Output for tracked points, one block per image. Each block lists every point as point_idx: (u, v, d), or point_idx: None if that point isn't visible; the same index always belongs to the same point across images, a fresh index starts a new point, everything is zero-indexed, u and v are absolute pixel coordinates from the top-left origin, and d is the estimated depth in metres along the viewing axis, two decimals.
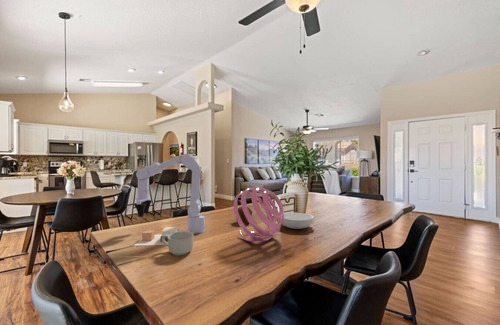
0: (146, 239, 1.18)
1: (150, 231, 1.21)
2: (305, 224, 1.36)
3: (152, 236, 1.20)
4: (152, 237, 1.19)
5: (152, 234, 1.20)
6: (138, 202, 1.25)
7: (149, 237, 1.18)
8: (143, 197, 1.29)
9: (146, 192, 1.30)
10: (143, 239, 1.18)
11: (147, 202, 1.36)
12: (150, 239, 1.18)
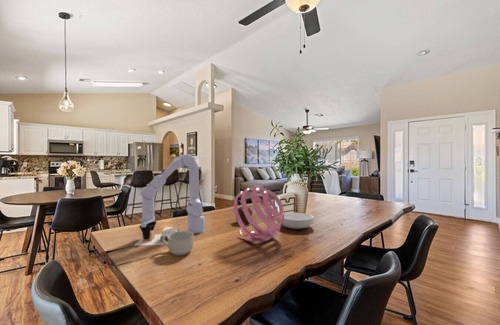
0: (146, 239, 1.18)
1: (150, 231, 1.21)
2: (305, 224, 1.36)
3: (152, 236, 1.20)
4: (152, 237, 1.19)
5: (152, 234, 1.20)
6: (143, 225, 1.13)
7: (149, 237, 1.18)
8: (148, 218, 1.18)
9: (151, 213, 1.19)
10: (143, 239, 1.18)
11: (151, 223, 1.23)
12: (150, 239, 1.18)
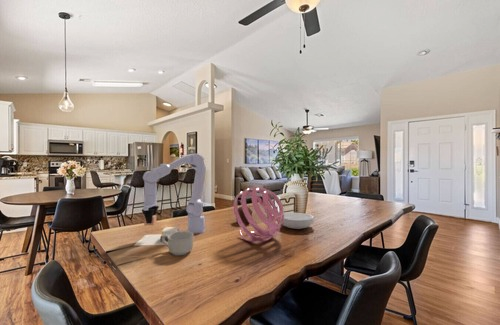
0: (148, 223, 1.18)
1: (152, 216, 1.21)
2: (305, 224, 1.36)
3: (154, 220, 1.20)
4: (154, 222, 1.19)
5: (154, 218, 1.20)
6: (145, 208, 1.13)
7: None
8: (150, 202, 1.18)
9: (154, 197, 1.19)
10: (145, 223, 1.18)
11: (154, 208, 1.23)
12: (152, 224, 1.18)
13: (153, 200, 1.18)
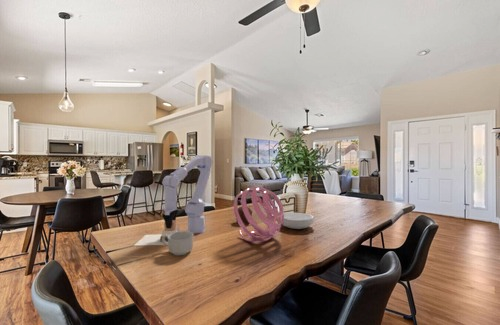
0: (168, 228, 1.19)
1: (172, 221, 1.21)
2: (305, 224, 1.36)
3: (174, 226, 1.21)
4: (174, 227, 1.20)
5: (174, 224, 1.21)
6: (167, 213, 1.14)
7: None
8: (171, 207, 1.18)
9: (174, 201, 1.20)
10: (165, 228, 1.19)
11: (174, 212, 1.25)
12: (172, 229, 1.19)
13: (173, 204, 1.19)
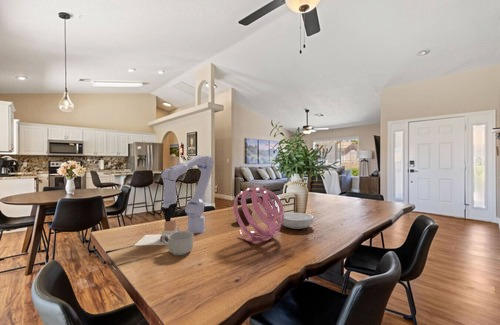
0: (168, 228, 1.19)
1: (172, 221, 1.21)
2: (305, 224, 1.36)
3: (174, 226, 1.21)
4: (174, 227, 1.20)
5: (174, 224, 1.21)
6: (166, 205, 1.14)
7: (171, 226, 1.19)
8: (170, 200, 1.18)
9: (173, 194, 1.19)
10: (165, 228, 1.19)
11: (173, 205, 1.25)
12: (172, 229, 1.19)
13: (172, 198, 1.19)
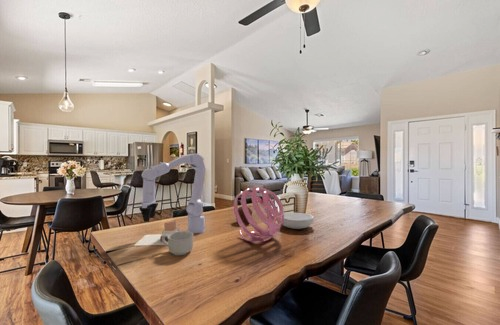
0: (168, 228, 1.19)
1: (172, 221, 1.21)
2: (305, 224, 1.36)
3: (174, 226, 1.21)
4: (174, 227, 1.20)
5: (174, 224, 1.21)
6: (144, 206, 1.13)
7: (171, 226, 1.19)
8: (149, 200, 1.18)
9: (152, 195, 1.19)
10: (165, 228, 1.19)
11: (153, 205, 1.24)
12: (172, 229, 1.19)
13: (152, 198, 1.18)
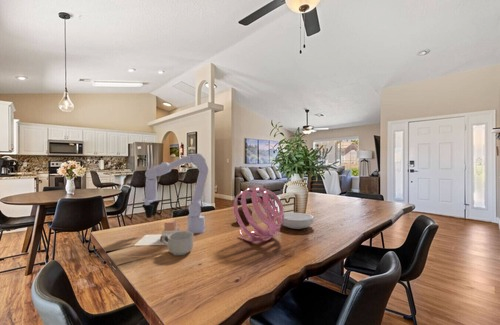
0: (168, 228, 1.19)
1: (172, 221, 1.21)
2: (305, 224, 1.36)
3: (174, 226, 1.21)
4: (174, 227, 1.20)
5: (174, 224, 1.21)
6: (146, 203, 1.21)
7: (171, 226, 1.19)
8: (151, 198, 1.25)
9: (154, 192, 1.26)
10: (165, 228, 1.19)
11: (155, 203, 1.32)
12: (172, 229, 1.19)
13: (154, 195, 1.26)
